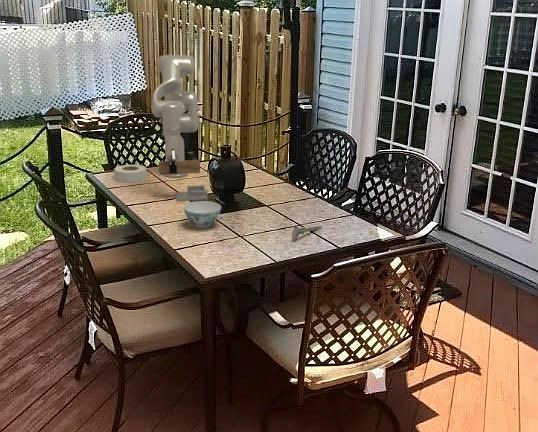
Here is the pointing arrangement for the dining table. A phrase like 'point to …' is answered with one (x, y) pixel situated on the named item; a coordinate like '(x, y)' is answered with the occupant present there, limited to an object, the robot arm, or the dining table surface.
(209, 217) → the chinaware
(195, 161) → the walnut rail
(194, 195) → the cup bracket
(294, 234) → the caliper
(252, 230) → the dining table surface
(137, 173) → the roll of tape
